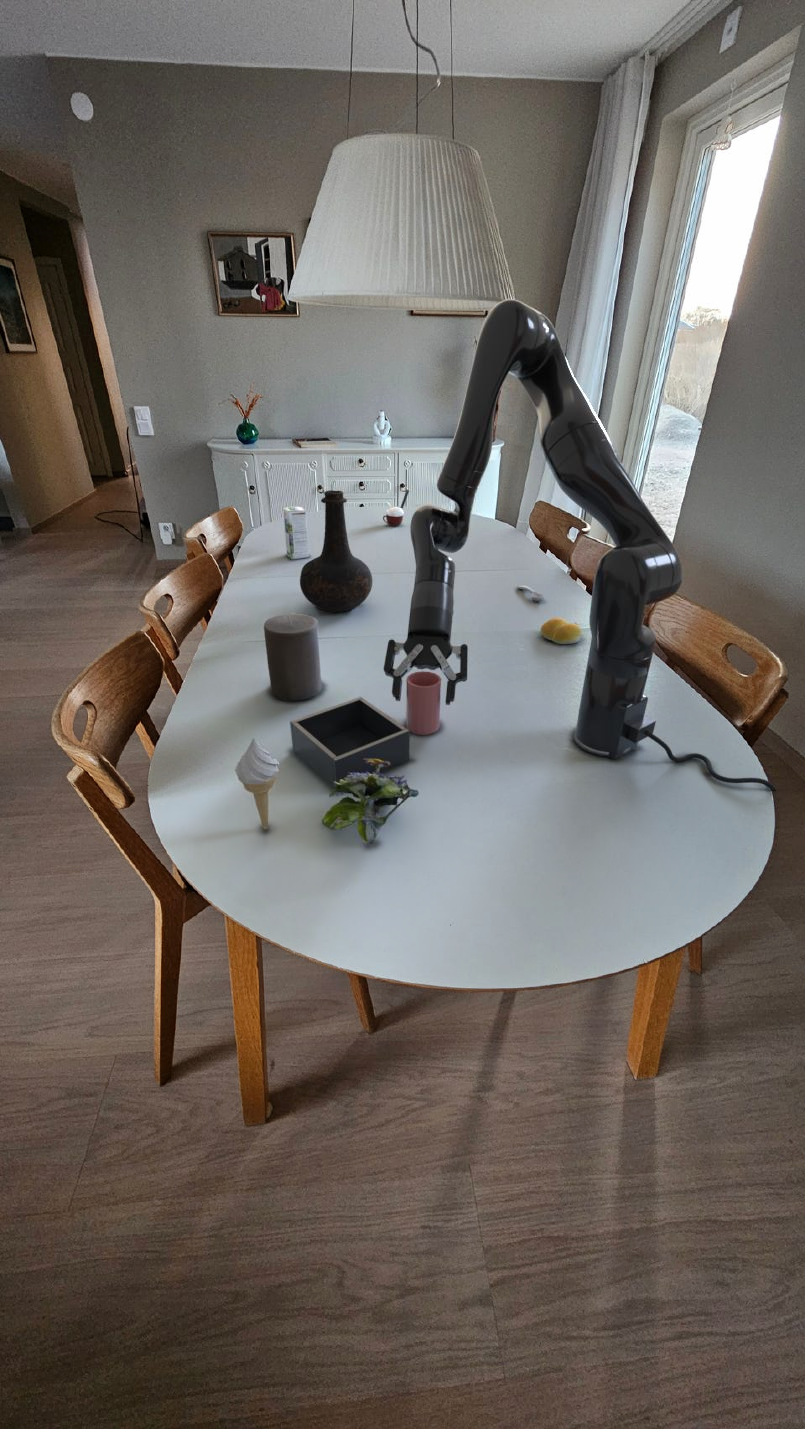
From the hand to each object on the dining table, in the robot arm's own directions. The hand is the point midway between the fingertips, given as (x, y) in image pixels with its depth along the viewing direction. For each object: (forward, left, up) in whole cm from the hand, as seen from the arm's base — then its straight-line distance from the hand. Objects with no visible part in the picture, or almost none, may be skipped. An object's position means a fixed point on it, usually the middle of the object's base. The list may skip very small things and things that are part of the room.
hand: (422, 701), depth 105 cm
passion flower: (-16, +21, -5) cm, 27 cm away
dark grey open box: (0, +14, -5) cm, 15 cm away
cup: (0, -1, -5) cm, 5 cm away
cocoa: (+115, -81, -5) cm, 141 cm away
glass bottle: (+58, -20, -5) cm, 62 cm away
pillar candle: (+25, +10, -5) cm, 28 cm away
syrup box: (+102, -33, -5) cm, 108 cm away
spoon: (+34, -65, -5) cm, 73 cm away
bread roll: (+11, -50, -5) cm, 51 cm away
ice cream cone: (-8, +33, -5) cm, 35 cm away
